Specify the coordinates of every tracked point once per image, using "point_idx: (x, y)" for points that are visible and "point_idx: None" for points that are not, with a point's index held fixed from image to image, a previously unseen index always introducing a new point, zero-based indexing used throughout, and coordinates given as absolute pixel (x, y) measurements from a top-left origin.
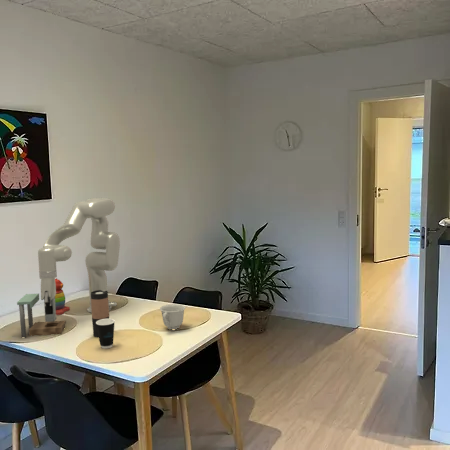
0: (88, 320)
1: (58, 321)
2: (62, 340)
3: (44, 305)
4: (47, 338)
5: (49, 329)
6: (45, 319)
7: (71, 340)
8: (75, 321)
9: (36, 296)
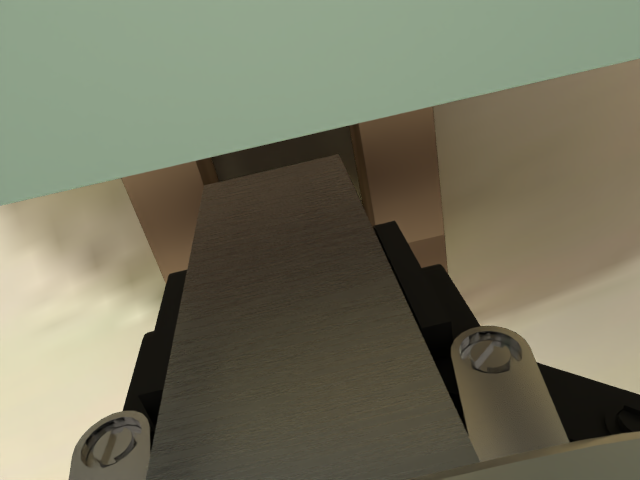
0: (575, 367)
1: (420, 227)
2: (36, 381)
3: (167, 379)
4: (47, 230)
5: (149, 233)
6: (201, 205)
7: (57, 441)
8: (576, 274)
9: (583, 57)
